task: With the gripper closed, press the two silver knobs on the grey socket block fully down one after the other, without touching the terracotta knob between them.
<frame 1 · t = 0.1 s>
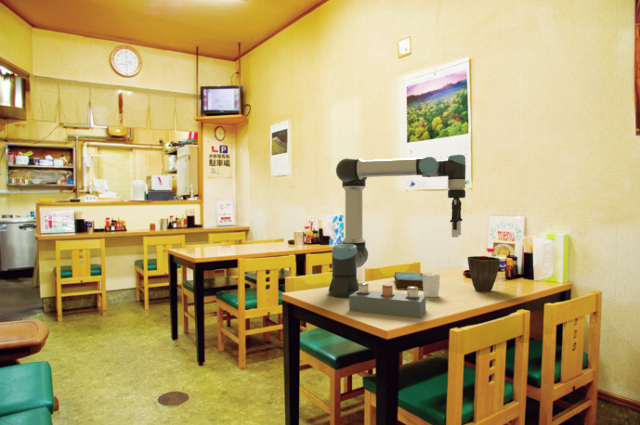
hand: (456, 236, 182), 28 cm above the table, tool pointing down, fingers open, 13 cm apart
plant pot: (483, 290, 198), on the table
book: (412, 285, 213), on the table
grey socket block: (387, 310, 160), on the table
silver knob 2: (412, 294, 156), point 7 cm above the table, slide at 0.0 cm
white cup: (430, 296, 186), on the table
terracotta knob middle: (387, 292, 160), point 7 cm above the table, slide at 0.0 cm
silver knob 1: (363, 290, 164), point 7 cm above the table, slide at 0.0 cm
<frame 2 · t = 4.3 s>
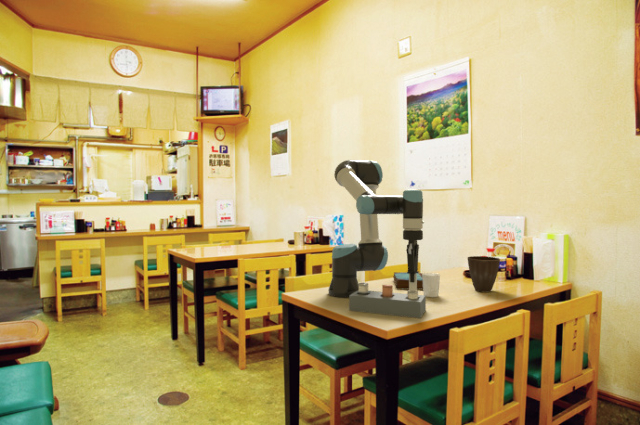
hand: (412, 290, 156), 9 cm above the table, tool pointing down, fingers closed
silver knob 2: (412, 297, 156), point 6 cm above the table, slide at 1.3 cm, touching gripper
everything else where it was.
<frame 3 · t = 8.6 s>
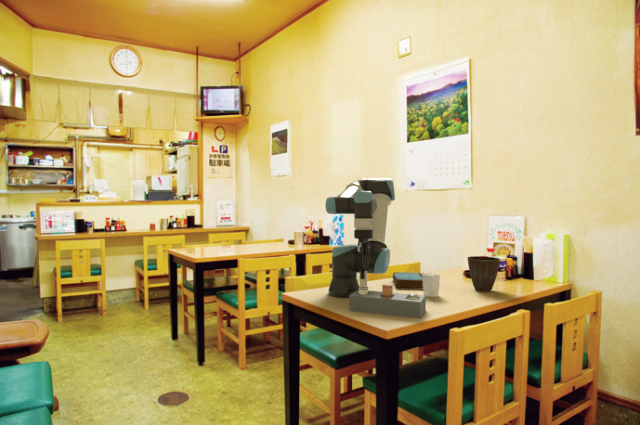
hand: (363, 286, 164), 9 cm above the table, tool pointing down, fingers closed
silver knob 2: (412, 301, 156), point 4 cm above the table, slide at 2.8 cm
silver knob 1: (363, 293, 164), point 6 cm above the table, slide at 1.4 cm, touching gripper
everything else where it was.
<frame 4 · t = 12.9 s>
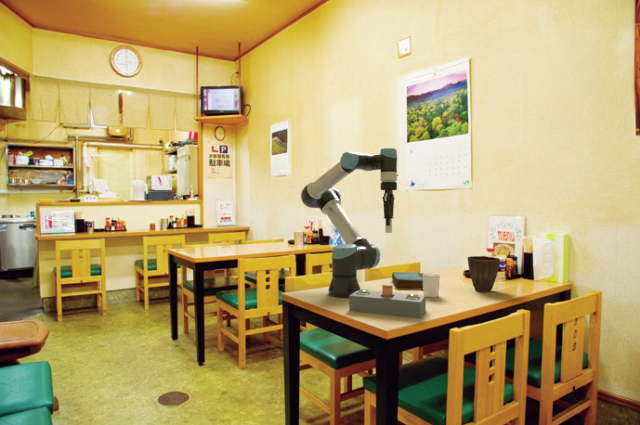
hand: (388, 232, 186), 29 cm above the table, tool pointing down, fingers closed
silver knob 1: (363, 297, 164), point 4 cm above the table, slide at 2.8 cm
everything else where it was.
at the end: silver knob 2 slide at 2.8 cm; silver knob 1 slide at 2.8 cm; terracotta knob middle slide at 0.0 cm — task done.
